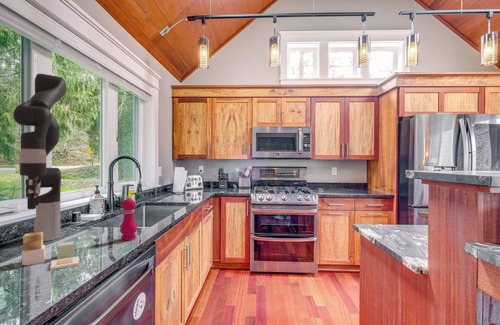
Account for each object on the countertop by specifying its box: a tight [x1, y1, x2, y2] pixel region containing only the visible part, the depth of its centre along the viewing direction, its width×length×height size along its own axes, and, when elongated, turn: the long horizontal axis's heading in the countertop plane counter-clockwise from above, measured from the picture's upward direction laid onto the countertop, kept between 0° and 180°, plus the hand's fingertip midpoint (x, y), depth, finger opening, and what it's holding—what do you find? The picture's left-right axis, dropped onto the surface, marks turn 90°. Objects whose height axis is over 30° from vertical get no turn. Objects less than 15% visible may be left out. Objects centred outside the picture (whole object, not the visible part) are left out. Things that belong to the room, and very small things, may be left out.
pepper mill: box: [119, 195, 138, 242], centre depth 127 cm, size 7×7×20 cm
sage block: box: [57, 240, 75, 260], centre depth 103 cm, size 5×5×5 cm
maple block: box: [22, 232, 44, 251], centre depth 98 cm, size 5×5×5 cm
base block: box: [21, 244, 46, 266], centre depth 98 cm, size 6×6×5 cm
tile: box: [49, 255, 80, 271], centre depth 95 cm, size 8×8×1 cm
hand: (33, 207), depth 98 cm, fingers open, 8 cm apart
